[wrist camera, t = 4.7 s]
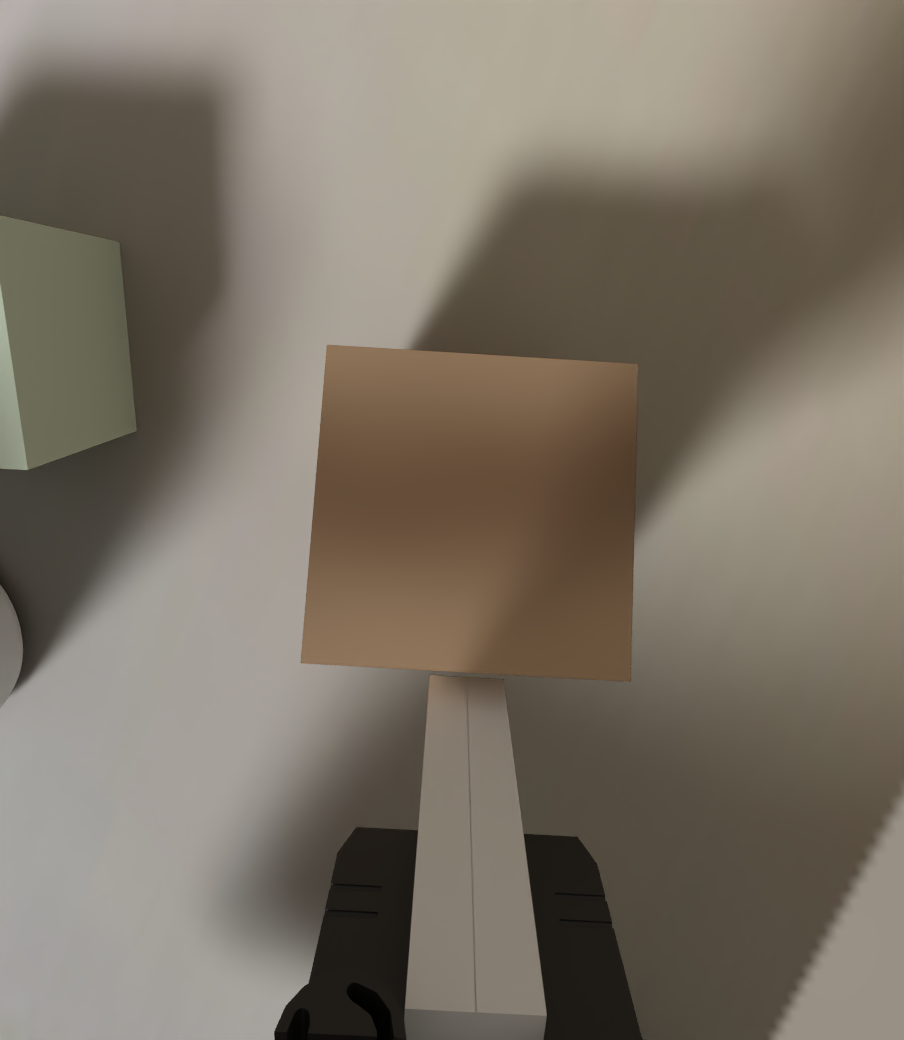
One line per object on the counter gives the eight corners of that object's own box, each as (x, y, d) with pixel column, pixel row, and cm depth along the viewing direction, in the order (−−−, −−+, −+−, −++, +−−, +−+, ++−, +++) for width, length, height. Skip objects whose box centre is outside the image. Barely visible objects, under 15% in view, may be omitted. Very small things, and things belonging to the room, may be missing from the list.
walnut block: (565, 652, 18) (631, 681, 12) (348, 639, 18) (300, 663, 12) (573, 439, 18) (638, 363, 12) (364, 427, 18) (326, 344, 12)
